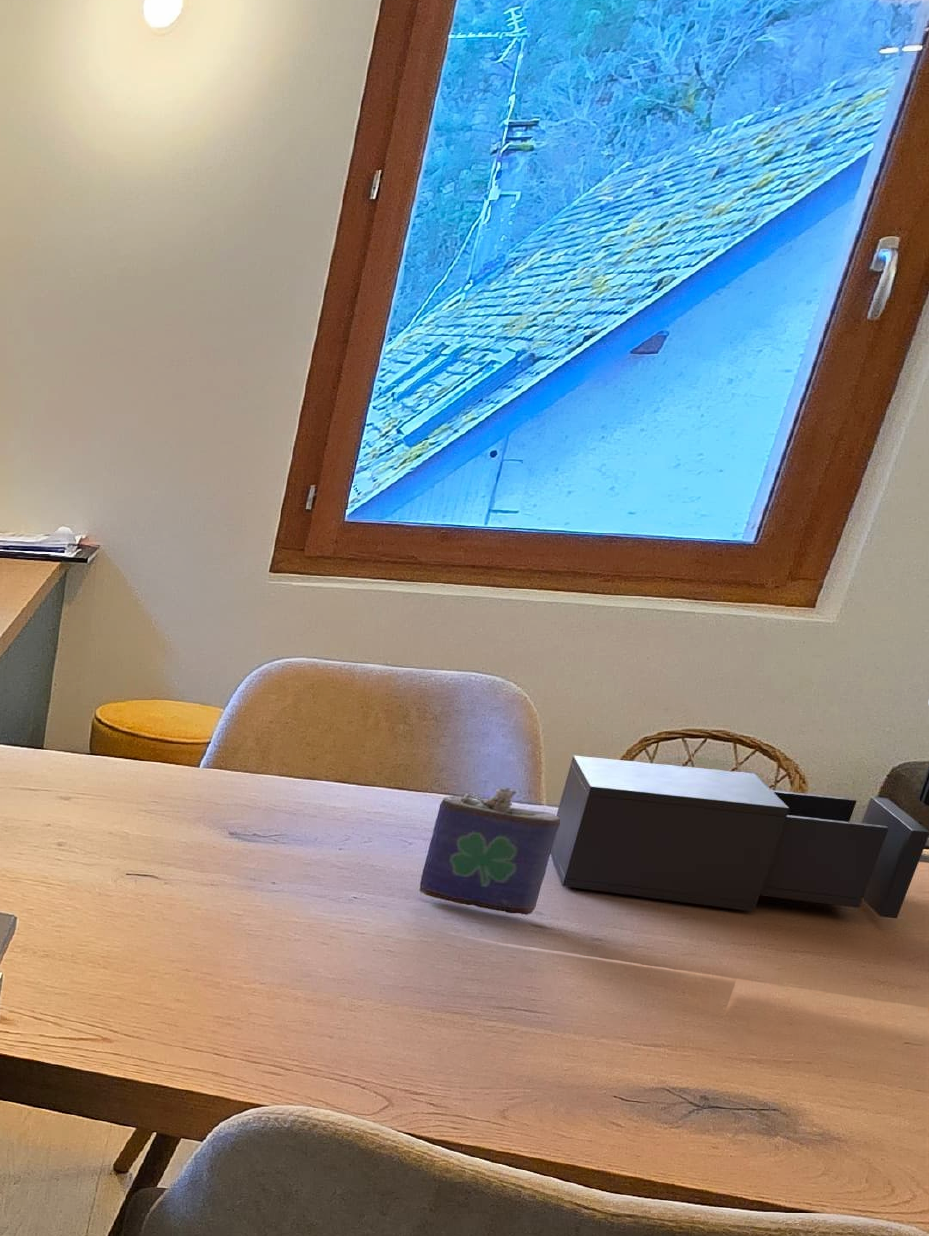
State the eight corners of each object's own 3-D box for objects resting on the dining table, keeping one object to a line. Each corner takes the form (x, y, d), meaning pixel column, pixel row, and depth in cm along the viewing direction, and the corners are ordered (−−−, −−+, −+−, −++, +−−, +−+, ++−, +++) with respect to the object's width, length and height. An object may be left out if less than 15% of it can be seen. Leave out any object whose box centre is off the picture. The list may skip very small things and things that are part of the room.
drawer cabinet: (723, 870, 132) (755, 773, 128) (754, 911, 122) (790, 808, 118) (547, 848, 138) (573, 755, 134) (562, 886, 128) (590, 786, 124)
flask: (535, 908, 122) (569, 794, 117) (530, 919, 120) (564, 803, 115) (421, 884, 127) (448, 774, 122) (414, 894, 125) (441, 783, 120)
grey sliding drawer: (937, 888, 125) (970, 806, 122) (984, 930, 115) (1020, 842, 112) (682, 857, 133) (707, 779, 130) (706, 893, 123) (734, 810, 120)
